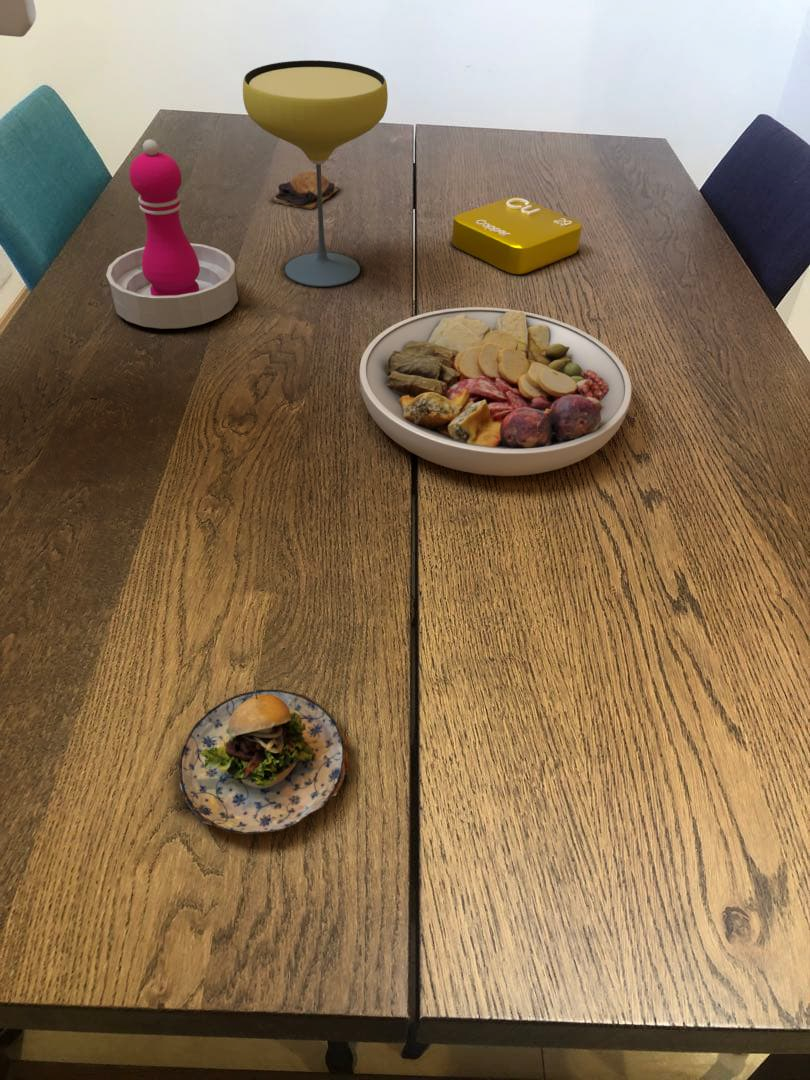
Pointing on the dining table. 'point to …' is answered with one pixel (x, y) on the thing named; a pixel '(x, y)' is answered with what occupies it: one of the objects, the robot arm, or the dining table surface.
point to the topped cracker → (304, 190)
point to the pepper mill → (163, 224)
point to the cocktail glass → (316, 132)
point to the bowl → (494, 390)
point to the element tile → (516, 235)
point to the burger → (262, 762)
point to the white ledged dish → (174, 310)
